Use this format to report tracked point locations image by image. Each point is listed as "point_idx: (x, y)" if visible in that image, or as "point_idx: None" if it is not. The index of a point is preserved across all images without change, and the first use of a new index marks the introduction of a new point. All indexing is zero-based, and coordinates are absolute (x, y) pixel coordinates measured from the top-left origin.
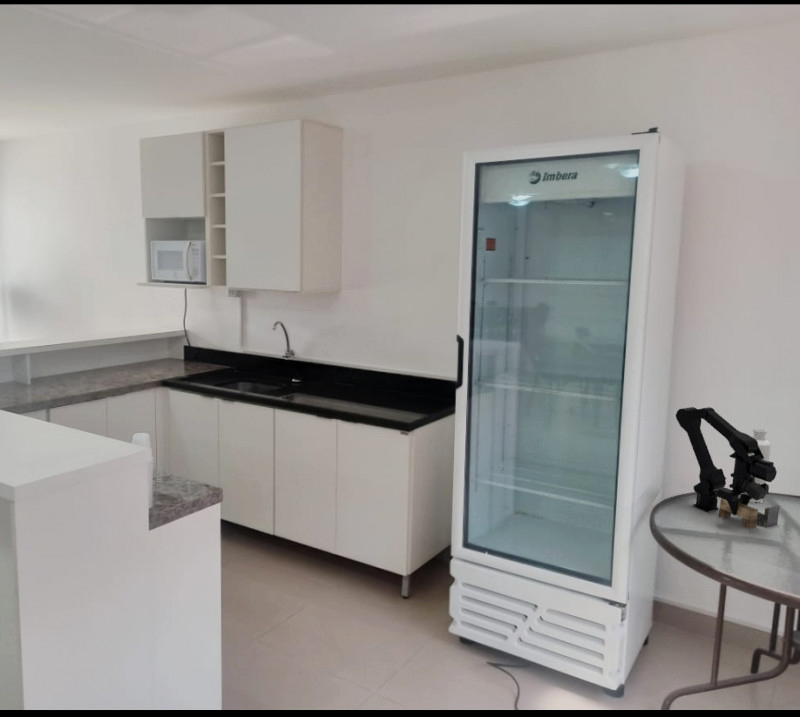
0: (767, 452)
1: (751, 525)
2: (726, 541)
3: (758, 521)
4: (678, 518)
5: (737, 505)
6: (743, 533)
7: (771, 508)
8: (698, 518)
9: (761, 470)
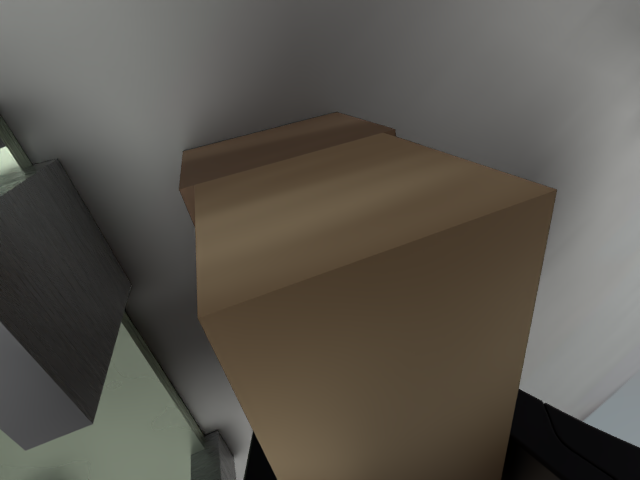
0: None
1: (305, 130)
2: None
3: (82, 239)
4: (611, 338)
5: (580, 452)
6: (495, 14)
7: None
8: (529, 344)
9: None
